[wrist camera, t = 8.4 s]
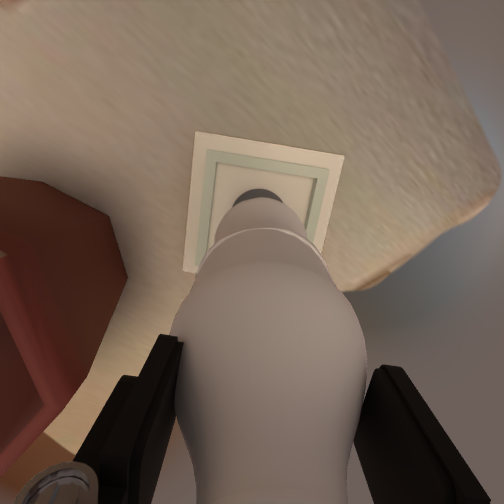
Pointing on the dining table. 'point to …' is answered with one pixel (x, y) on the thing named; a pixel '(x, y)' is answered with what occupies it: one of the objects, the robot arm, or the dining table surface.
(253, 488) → the water bottle
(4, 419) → the bucket
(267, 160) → the plate
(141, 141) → the dining table surface
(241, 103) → the dining table surface
